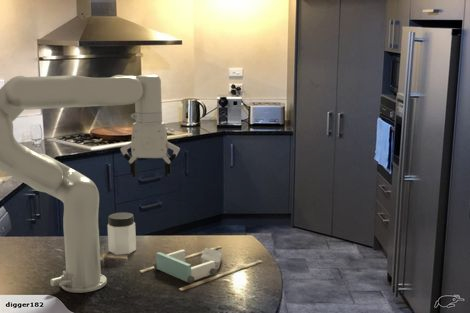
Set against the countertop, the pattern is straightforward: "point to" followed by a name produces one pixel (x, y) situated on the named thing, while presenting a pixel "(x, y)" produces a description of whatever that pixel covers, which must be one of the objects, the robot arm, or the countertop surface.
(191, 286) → the track
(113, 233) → the jar
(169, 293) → the countertop surface
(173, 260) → the green frame
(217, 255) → the grey rock
